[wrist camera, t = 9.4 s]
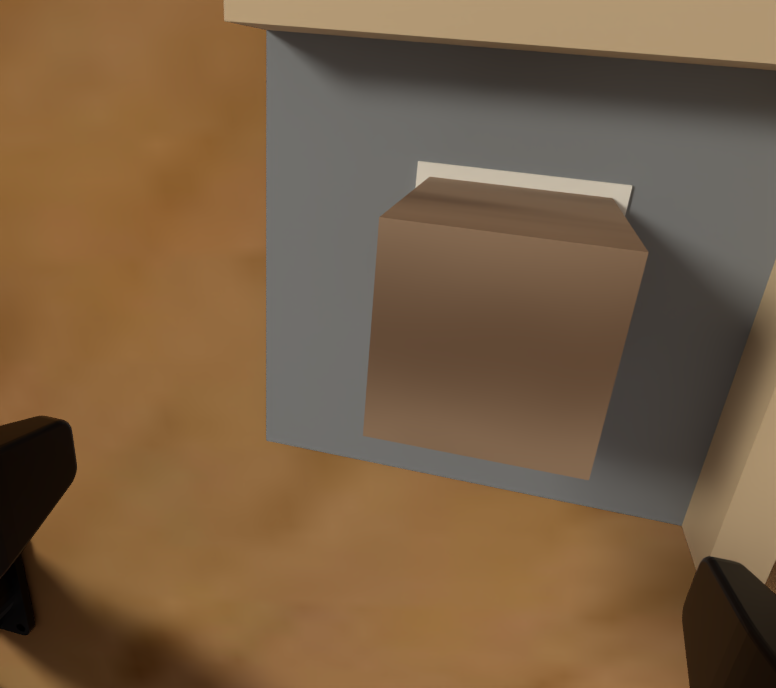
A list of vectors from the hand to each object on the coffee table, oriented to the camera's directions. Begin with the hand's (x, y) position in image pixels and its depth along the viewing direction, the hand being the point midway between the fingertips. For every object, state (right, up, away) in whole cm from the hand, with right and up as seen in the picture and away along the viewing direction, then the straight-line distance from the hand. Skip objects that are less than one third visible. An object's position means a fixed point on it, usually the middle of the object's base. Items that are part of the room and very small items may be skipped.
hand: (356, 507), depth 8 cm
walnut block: (+4, +4, +9) cm, 11 cm away
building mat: (+5, +5, +10) cm, 12 cm away
